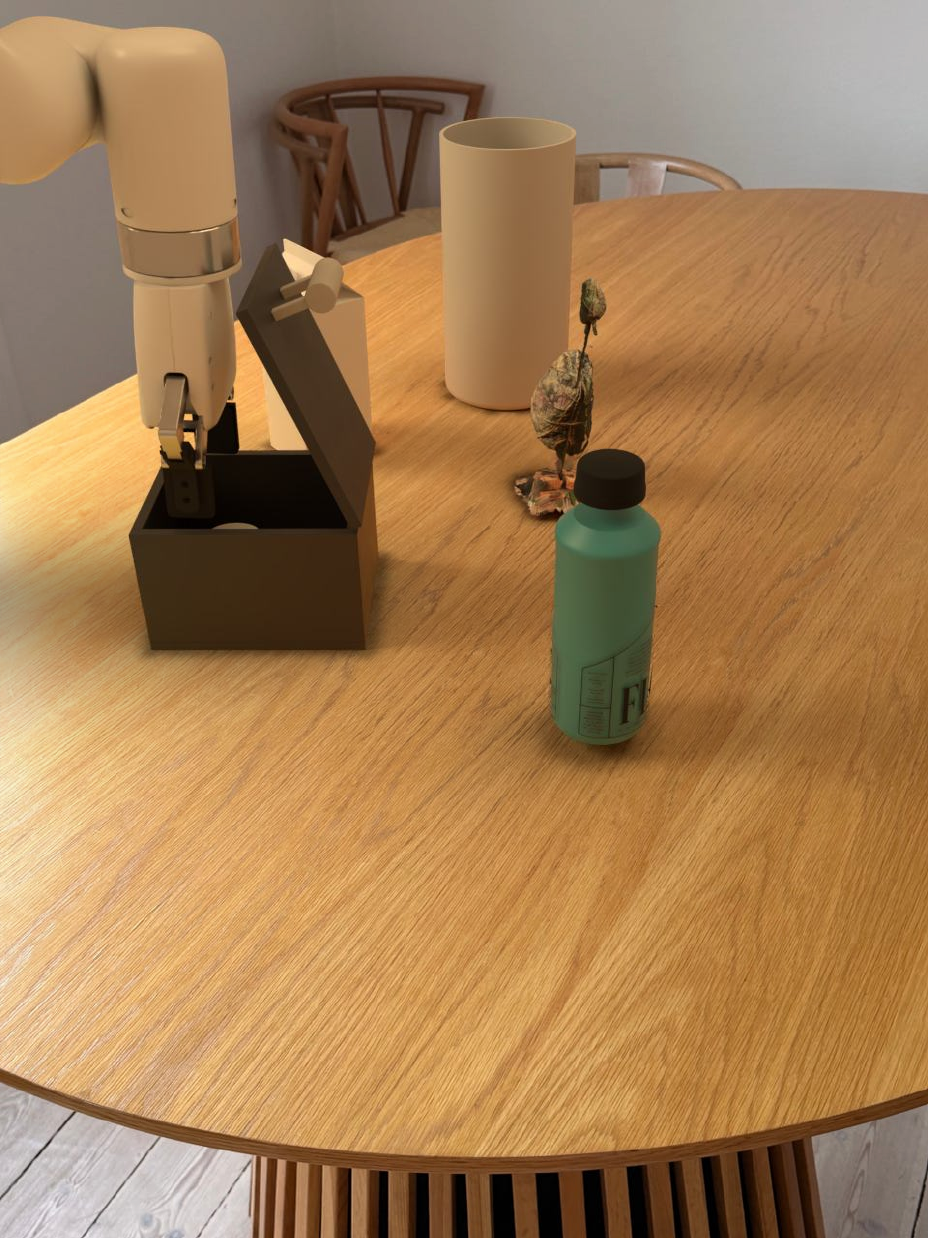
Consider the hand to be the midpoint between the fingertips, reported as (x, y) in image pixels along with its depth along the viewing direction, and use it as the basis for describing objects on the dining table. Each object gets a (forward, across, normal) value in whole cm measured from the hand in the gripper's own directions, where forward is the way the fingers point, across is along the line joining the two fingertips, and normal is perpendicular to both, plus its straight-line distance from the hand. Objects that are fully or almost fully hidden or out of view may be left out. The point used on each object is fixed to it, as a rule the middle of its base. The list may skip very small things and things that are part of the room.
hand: (205, 482), depth 87 cm
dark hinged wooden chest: (+10, 0, +4) cm, 11 cm away
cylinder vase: (+10, -40, +22) cm, 47 cm away
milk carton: (+10, -26, +5) cm, 28 cm away
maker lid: (-8, 0, +8) cm, 11 cm away
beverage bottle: (+10, +15, +28) cm, 33 cm away
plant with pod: (+10, -17, +27) cm, 33 cm away
